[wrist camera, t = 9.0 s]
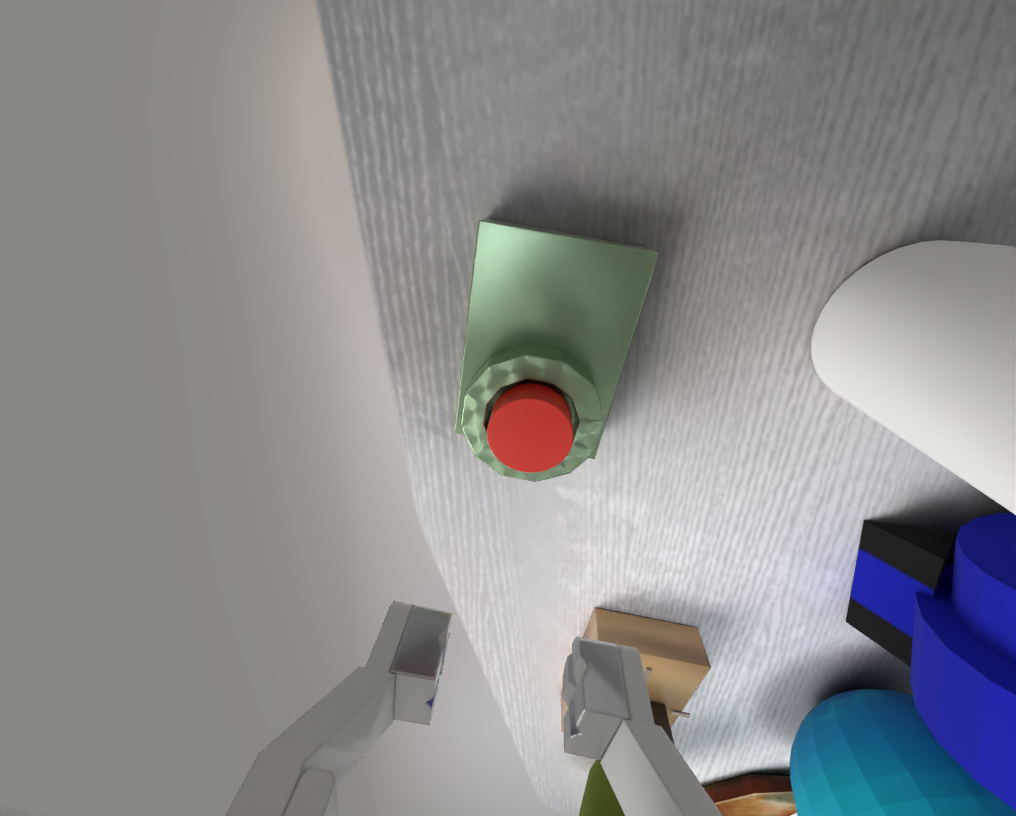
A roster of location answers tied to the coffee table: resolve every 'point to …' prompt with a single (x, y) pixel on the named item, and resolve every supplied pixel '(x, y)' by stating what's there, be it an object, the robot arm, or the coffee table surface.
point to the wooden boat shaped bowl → (754, 796)
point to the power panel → (656, 656)
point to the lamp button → (530, 428)
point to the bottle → (932, 354)
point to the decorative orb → (880, 763)
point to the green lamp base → (549, 329)
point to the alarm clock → (949, 633)
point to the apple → (599, 795)
